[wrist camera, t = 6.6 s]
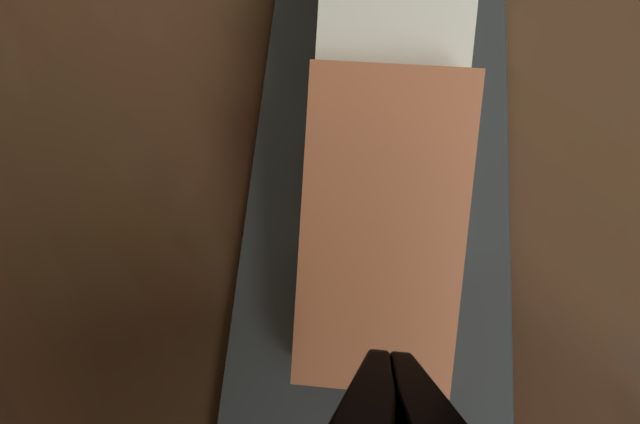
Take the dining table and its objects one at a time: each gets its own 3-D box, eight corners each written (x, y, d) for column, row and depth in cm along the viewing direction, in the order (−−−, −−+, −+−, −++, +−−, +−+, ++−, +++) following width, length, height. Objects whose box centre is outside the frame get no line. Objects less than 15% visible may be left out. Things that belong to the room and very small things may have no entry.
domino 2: (449, 399, 14) (485, 68, 13) (290, 384, 14) (310, 58, 13) (439, 375, 15) (470, 78, 14) (296, 361, 16) (314, 69, 14)
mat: (511, 537, 14) (516, 542, 14) (209, 500, 15) (206, 505, 15) (500, -43, 20) (503, -50, 20) (284, -51, 21) (282, -58, 20)
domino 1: (451, 261, 15) (484, -57, 14) (303, 249, 15) (322, -62, 14) (441, 251, 16) (470, -35, 15) (308, 241, 17) (325, -40, 16)
